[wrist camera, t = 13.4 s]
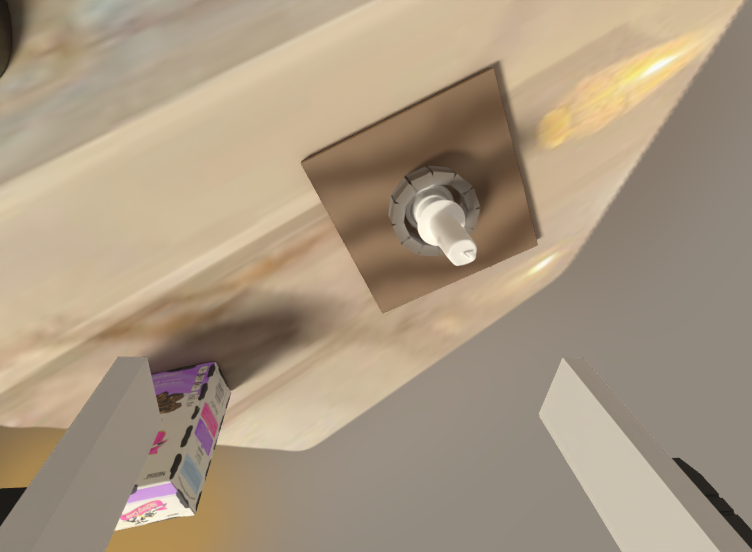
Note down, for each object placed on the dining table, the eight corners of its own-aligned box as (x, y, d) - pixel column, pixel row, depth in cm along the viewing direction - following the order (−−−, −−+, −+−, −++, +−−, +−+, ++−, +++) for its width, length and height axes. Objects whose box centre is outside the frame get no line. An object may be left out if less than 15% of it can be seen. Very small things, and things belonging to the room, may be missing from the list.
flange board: (301, 161, 39) (299, 169, 36) (489, 68, 37) (504, 68, 34) (381, 309, 48) (385, 325, 45) (533, 241, 46) (548, 254, 43)
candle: (463, 197, 41) (511, 242, 31) (435, 238, 43) (471, 294, 33) (422, 173, 40) (458, 212, 29) (395, 217, 42) (420, 268, 31)
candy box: (216, 358, 49) (172, 481, 35) (232, 391, 52) (198, 517, 38) (108, 381, 49) (18, 514, 35) (130, 413, 52) (56, 548, 37)
